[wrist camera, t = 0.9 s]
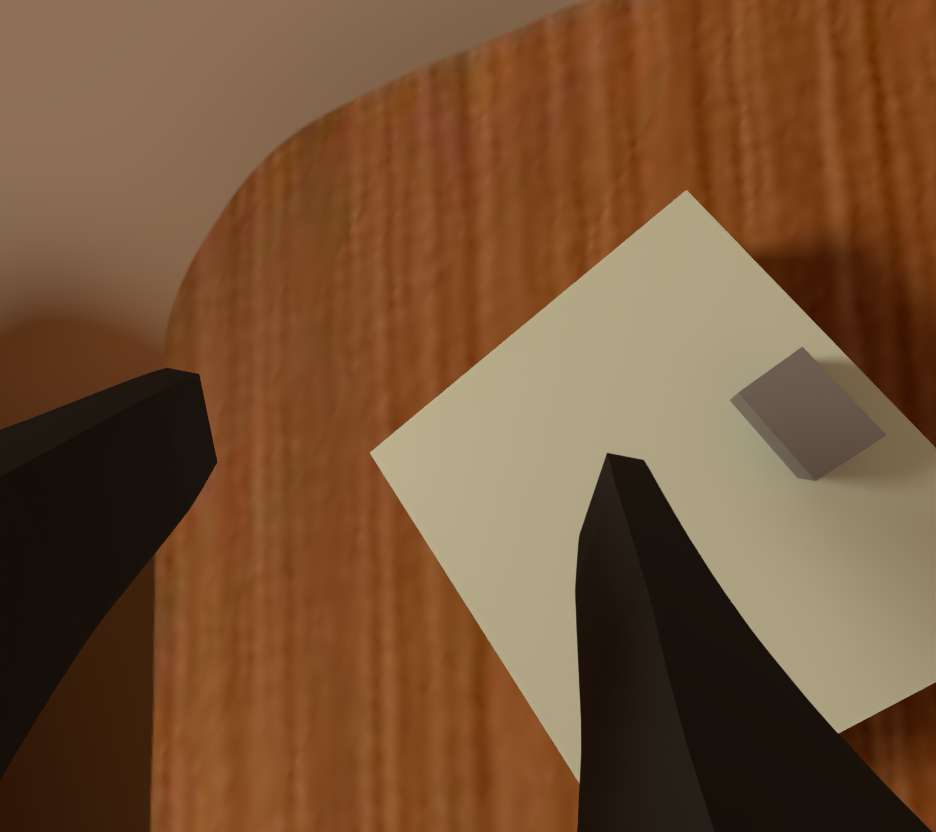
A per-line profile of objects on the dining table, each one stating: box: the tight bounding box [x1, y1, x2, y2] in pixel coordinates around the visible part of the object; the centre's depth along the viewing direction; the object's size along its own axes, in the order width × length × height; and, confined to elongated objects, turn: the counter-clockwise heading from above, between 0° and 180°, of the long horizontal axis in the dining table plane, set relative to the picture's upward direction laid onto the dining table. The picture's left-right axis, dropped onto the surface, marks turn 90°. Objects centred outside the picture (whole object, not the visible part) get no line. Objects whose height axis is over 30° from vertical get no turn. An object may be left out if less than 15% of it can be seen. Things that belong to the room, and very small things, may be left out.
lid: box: [370, 190, 936, 783], centre depth 17 cm, size 16×15×3 cm
